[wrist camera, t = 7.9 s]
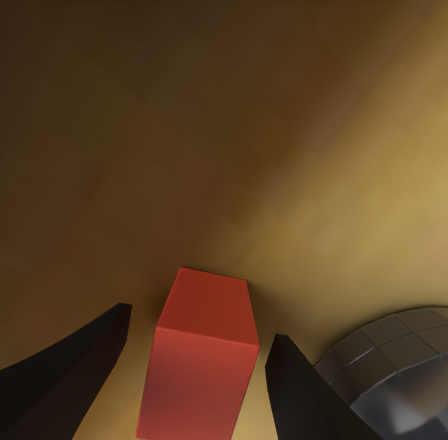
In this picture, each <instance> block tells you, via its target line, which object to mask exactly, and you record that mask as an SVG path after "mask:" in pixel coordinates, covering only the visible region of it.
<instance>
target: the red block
mask: <svg viewBox="0 0 448 440" xmlns="http://www.w3.org/2000/svg"><path fill="white" fill-rule="evenodd" d="M259 350H260V344H259V339H258V334H257V330H256V325H255V320H254V316H253V311H252V306H251V302H250V297H249V293H248V288H247V283H246V281H245V280H241V279H236V278H231V277H227V276H222V275H217V274H212V273H207V272H203V271H198V270H193V269H188V268H183V267H181V268H180V270H179V273H178V275H177V277H176V280H175V282H174V285H173V287H172V289H171V292H170V294H169V297H168V299H167V301H166V304H165V306H164V309H163V311H162V313H161V316H160V318H159V320H158V323H157V325H156V328H155V333H154V338H153V344H152V349H151V354H150V360H149V365H148V370H147V376H146V381H145V386H144V392H143V397H142V402H141V408H140V413H139V418H138V423H137V429H136V434H135V435H136V438H140V439H146V440H231V437H232V434H233V431H234V428H235V425H236V422H237V419H238V415H239V412H240V409H241V406H242V403H243V400H244V397H245V394H246V390H247V387H248V384H249V381H250V378H251V375H252V372H253V369H254V365H255V362H256V359H257V356H258V353H259Z"/></svg>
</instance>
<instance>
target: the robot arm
mask: <svg viewBox="0 0 448 440" xmlns="http://www.w3.org/2000/svg"><path fill="white" fill-rule="evenodd" d="M131 309H132V305H129V304H124V303H118V304H116V305H115V306H113V307H112V308H111V309H109V310H108V311H106V312H105V313H103V314H102V315H100V316H99V317H97V318H96V319H94V320H93V321H91V322H90V323H88V324H87V325H85V326H83V327H82V328H80V329H79V330H77V331H76V332H74V333H72V334H71V335H69V336H67V337H65V338H64V339H62V340H60V341H59V342H57V343H55V344H53V345H52V346H50V347H48V348H46V349H44V350H42V351H40V352H38V353H36V354H34V355H32V356H30V357H28V358H26V359H24V360H22V361H20V362H18V363H16V364H13V365H11V366H9V367H7V368H4V369H2V370H0V440H72V438H73V436H74V434H75V432H76V430H77V429H78V427H79V425H80V423H81V421H82V420H83V418H84V416H85V414H86V413H87V411H88V409H89V408H90V406H91V404H92V403H93V401H94V399H95V398H96V396H97V394H98V393H99V391H100V389H101V388H102V386H103V384H104V383H105V381H106V379H107V378H108V376H109V374H110V373H111V371H112V369H113V368H114V366H115V364H116V362H117V360H118V358H119V356H120V354H121V352H122V350H123V347H124V345H125V343H126V341H127V335H128V328H129V322H130V316H131ZM265 372H266V382H267V390H268V395H269V399H270V404H271V409H272V413H273V418H274V422H275V426H276V431H277V435H278V440H384V439H383V438H382V437H381V436H380V435H379V434H378V433H376V432H375V431H374V430H373V429H372V428H371V427H370V426H369V425H368V424H367V423H366V422H364V421H363V420H362V419H361V418H360V417H359V416H358V415H357V414H356V413H355V412H354V411H353V410H352V409H351V408H350V407H349V406H348V405H347V404H346V403H345V402H344V401H343V400H342V399H341V398H340V397H339V395H338V394H337V393H336V392H335V391H334V390H333V389H332V388H331V387H330V386H329V384H328V383H327V382H326V381H325V380H324V379H323V378H322V376H321V375H320V374H319V373H318V372H317V371H316V369H315V368H314V367H313V366H312V365H311V363H310V362H309V361H308V360H307V358H306V357H305V356H304V355H303V353H302V352H301V351H300V350H299V349H298V347H297V346H296V345H295V344H294V342H293V341H292V340H291V339H290V338H289V337H288V336H287V335H282V334H277V333H276V335H275V338H274V341H273V344H272V347H271V350H270V353H269V356H268V359H267V362H266V365H265Z"/></svg>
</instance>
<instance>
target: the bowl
mask: <svg viewBox="0 0 448 440" xmlns="http://www.w3.org/2000/svg"><path fill="white" fill-rule="evenodd" d="M314 368H315V369H316V371H317V372H318V373H319V374H320V375H321V376H322V378H323V379H324V380H325V381H326V382H327V383H328V384H329V386H330V387H331V388H332V389H333V390H334V391H335V392H336V393H337V394H338V395H339V397H340V398H341V399H342V400H343V401H344V402H345V403H346V404H347V405H348V406H349V407H350V408H351V409H352V410H353V411H354V412H355V413H356V414H357V415H358V416H359V417H360V418H361V419H362V420H363V421H364V422H366V423H367V424H368V425H369V426H370V427H371V428H372V429H373V430H374V431H375V432H376V433H378V434H379V435H380V436H381V437H382V438H383V439H384V440H448V308H427V307H426V308H421V309H415V310H410V311H405V312H399V313H394V314H391V315H388V316H386V317H384V318H381V319H379V320H376V321H374V322H372V323H369V324H367V325H364V326H362V327H360V329H357V330H356V331H354V332H353V333H351V334H350V335H349V336H347V337H346V338H344V339H343V340H341V341H340V342H339V343H337V344H336V345H334V346H333V348H332V347H331V348H330V349H329V350H328V351H327V353H326V354H325V355H324V356H323V357H322V358H321V359H320V360H319V361H318V363H317V364H316V365H315V366H314Z"/></svg>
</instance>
